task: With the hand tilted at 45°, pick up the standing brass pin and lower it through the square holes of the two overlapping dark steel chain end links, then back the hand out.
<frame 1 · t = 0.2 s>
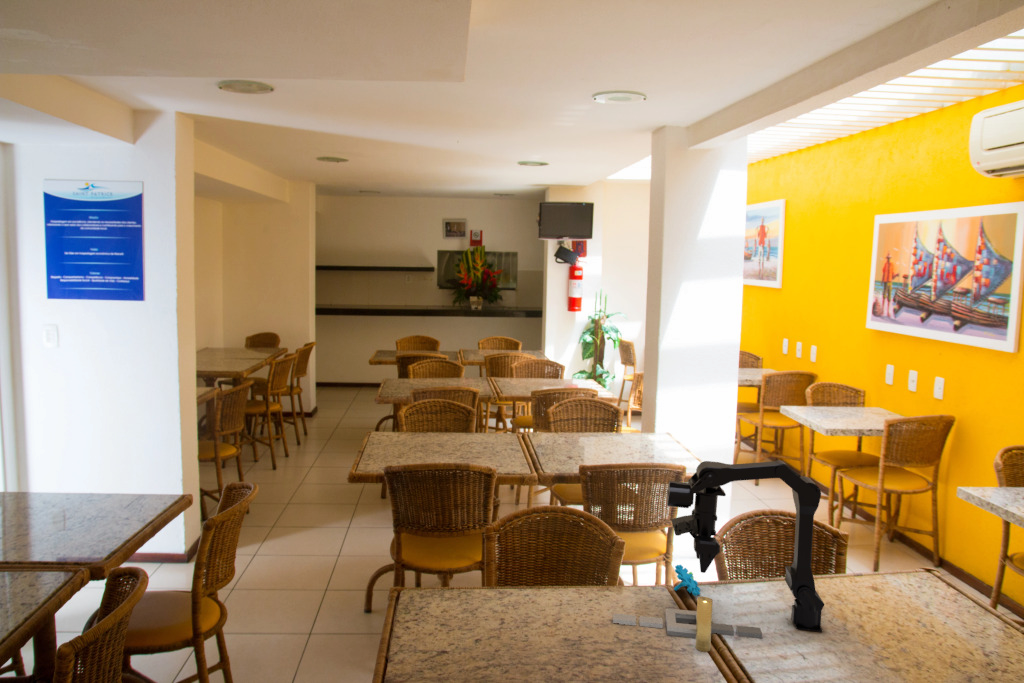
hand: (700, 565, 190), 14 cm above the table, tool pointing down, fingers open, 9 cm apart
gear: (687, 592, 206), on the table
pin: (702, 648, 175), on the table
chain ends: (685, 627, 185), on the table
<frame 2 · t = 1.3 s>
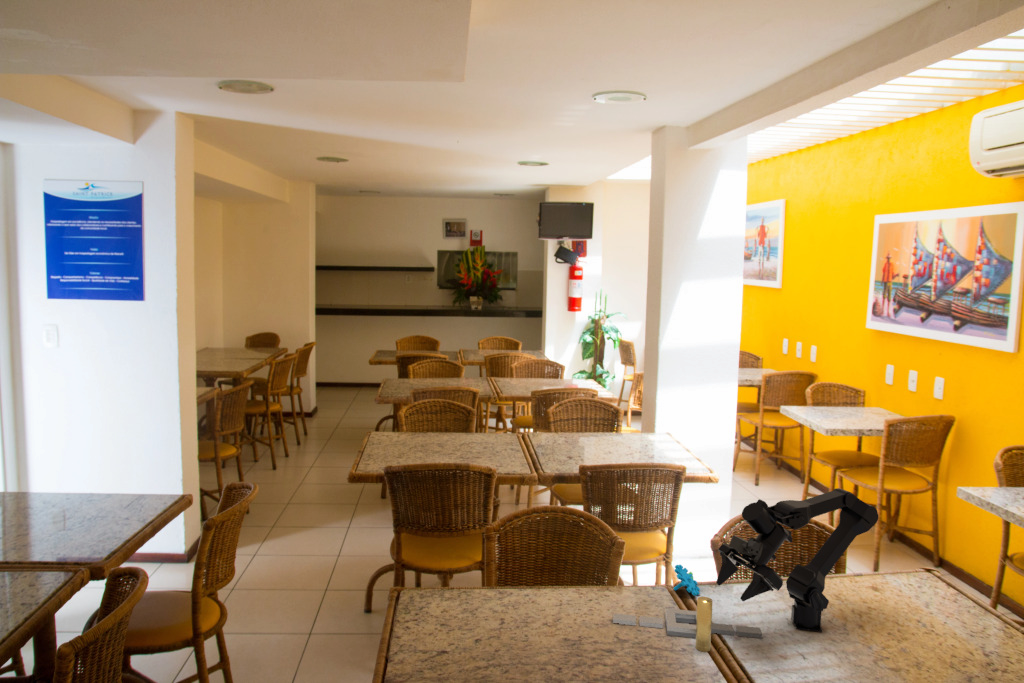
hand: (729, 592, 176), 13 cm above the table, tool tilted 45°, fingers open, 9 cm apart
nothing on the table moved.
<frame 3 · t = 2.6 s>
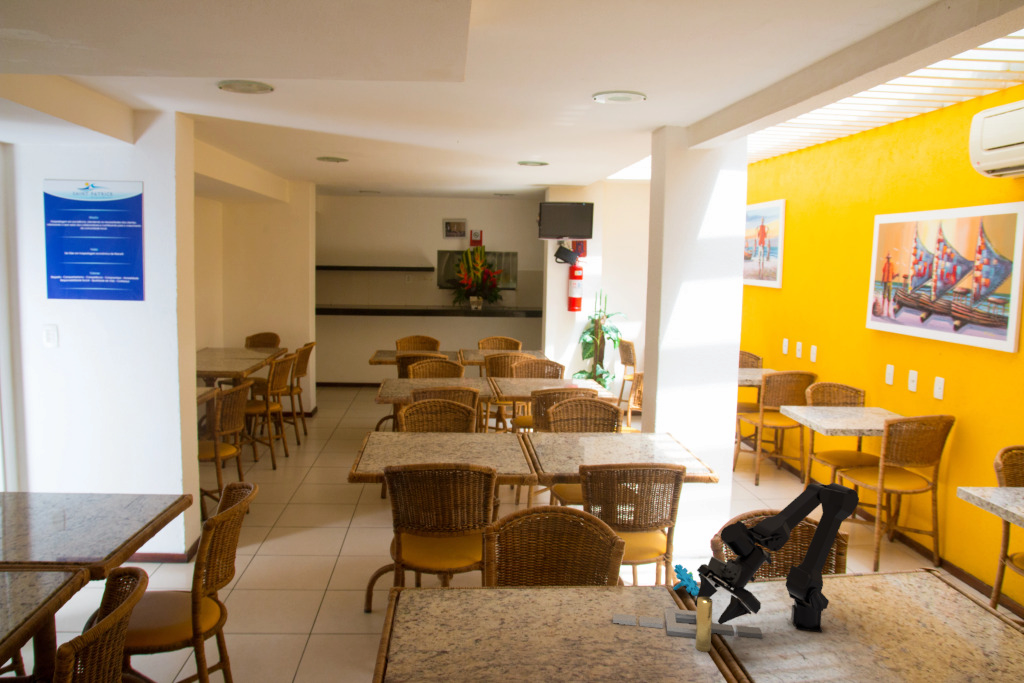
hand: (707, 614, 174), 9 cm above the table, tool tilted 45°, fingers open, 9 cm apart
nothing on the table moved.
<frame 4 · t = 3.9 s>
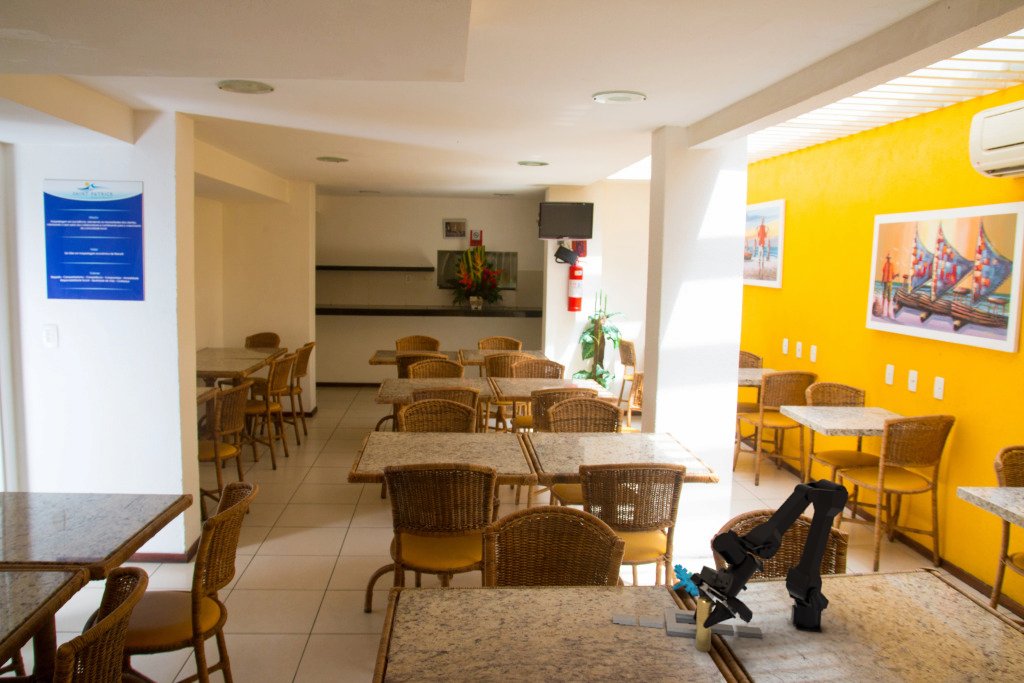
hand: (699, 623, 173), 7 cm above the table, tool tilted 45°, fingers closed on pin, 4 cm apart
pin: (702, 647, 175), on the table, touching gripper
everything else where it was.
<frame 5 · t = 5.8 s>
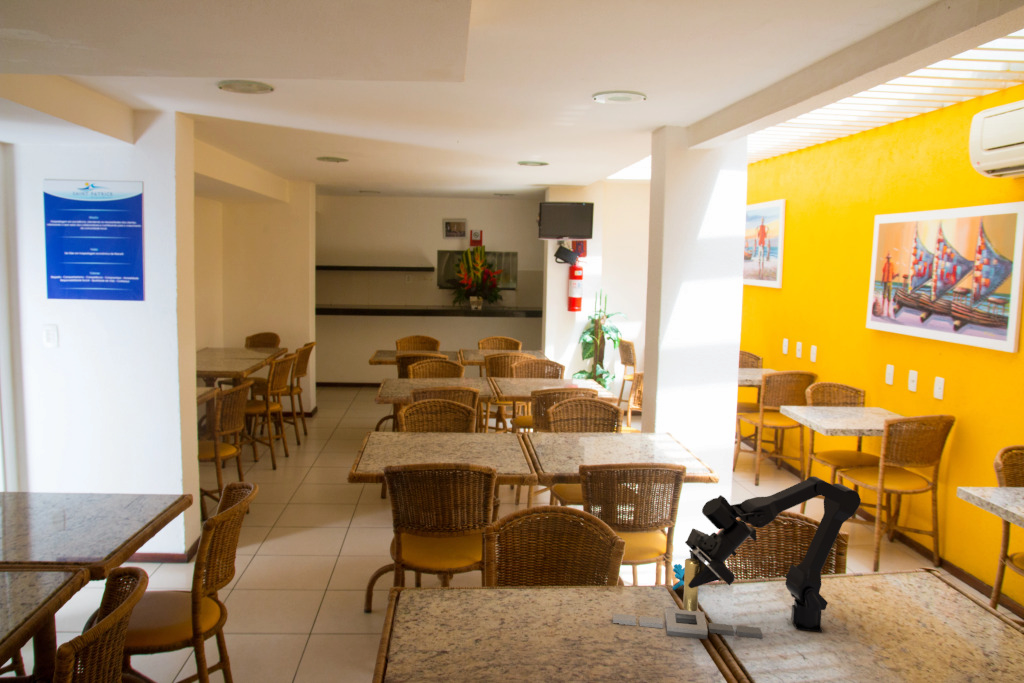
hand: (686, 583, 180), 13 cm above the table, tool tilted 45°, fingers closed on pin, 4 cm apart
pin: (690, 607, 181), point 7 cm above the table, touching gripper
everything else where it was.
when the fingers open (8 cm above the table, at t = 7.6 s): pin drops 1 cm, resting in chain ends.
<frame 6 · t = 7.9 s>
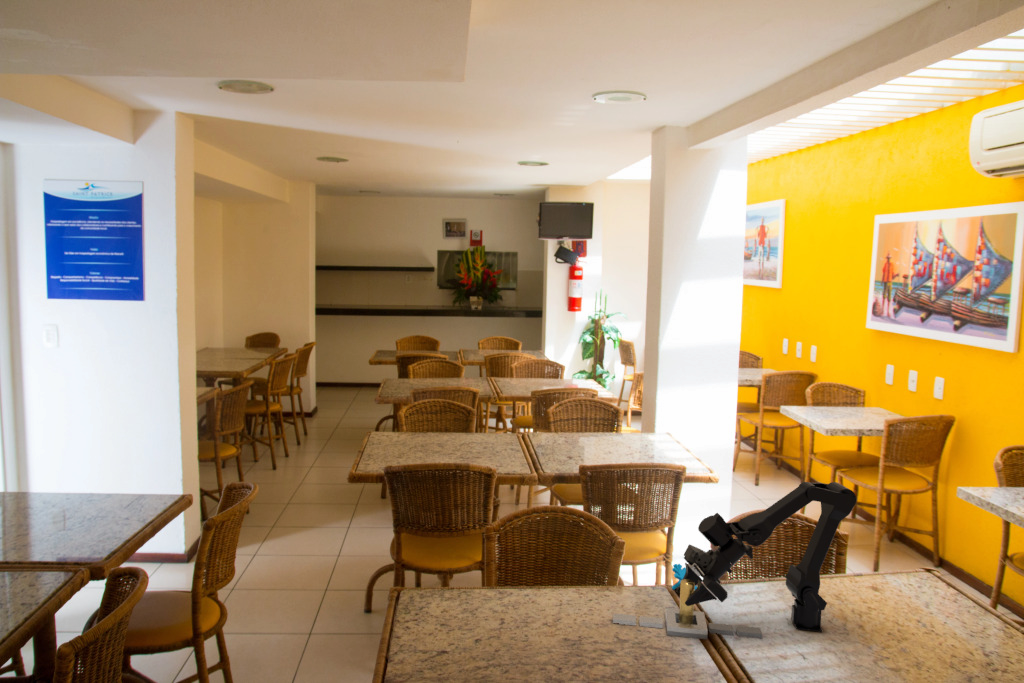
hand: (681, 598, 184), 8 cm above the table, tool tilted 45°, fingers open, 7 cm apart
pin: (685, 627, 185), resting in chain ends
everything else where it was.
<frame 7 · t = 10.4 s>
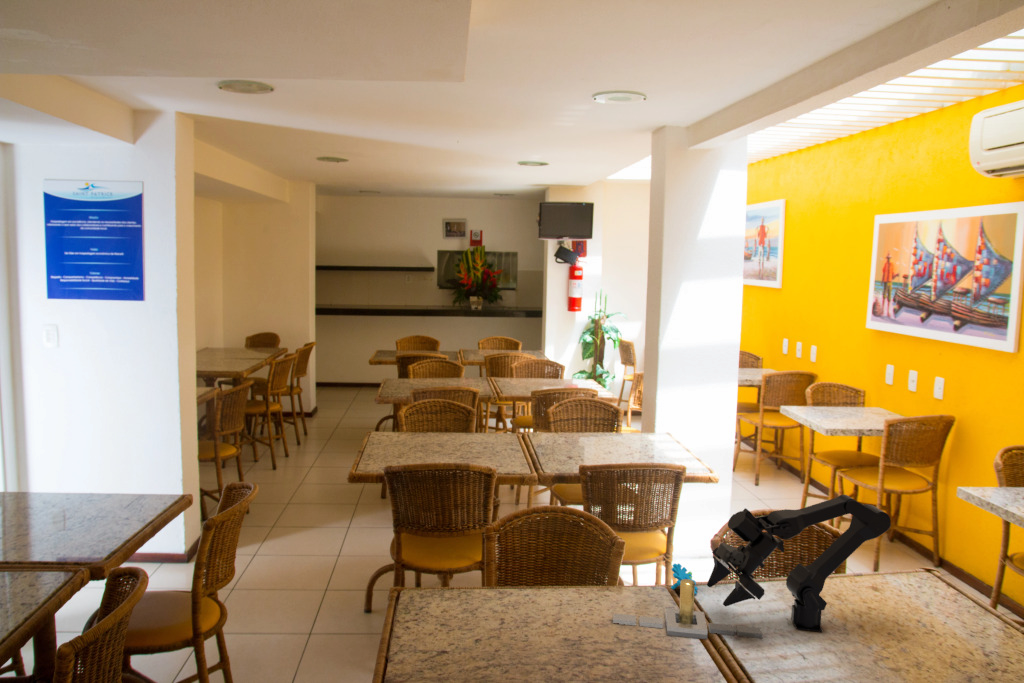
hand: (715, 595, 184), 9 cm above the table, tool tilted 40°, fingers open, 9 cm apart
nothing on the table moved.
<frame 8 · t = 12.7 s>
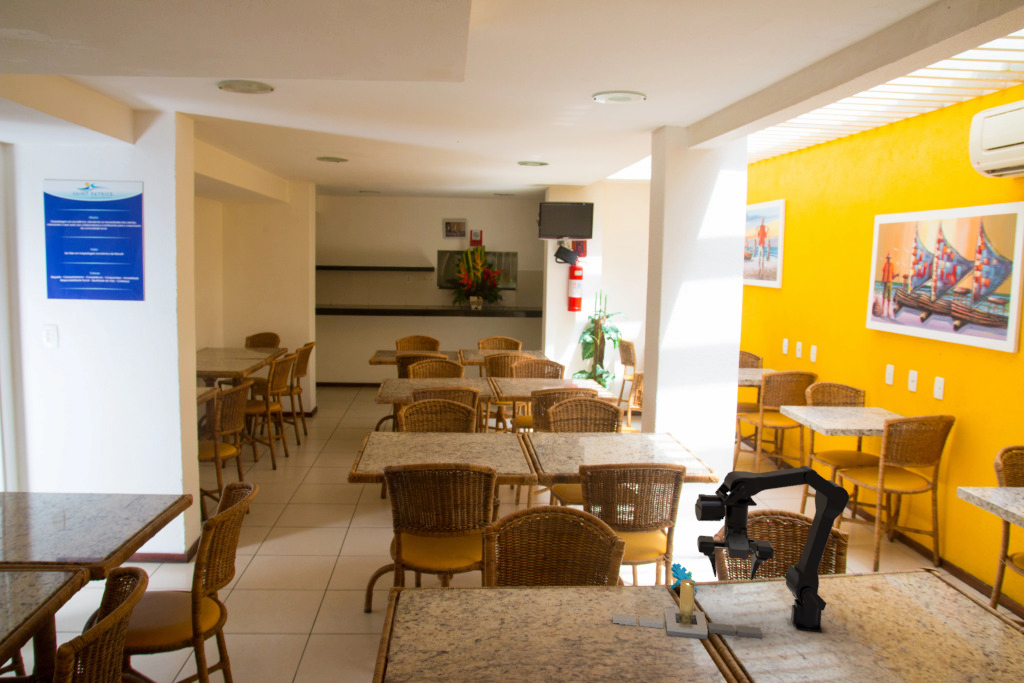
hand: (733, 577, 185), 13 cm above the table, tool pointing down, fingers open, 9 cm apart
at the end: pin 0.0 cm off-centre on the chain ends, point 0.0 cm above the chain ends's base; pin tilted 0°; the gripper is holding nothing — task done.
